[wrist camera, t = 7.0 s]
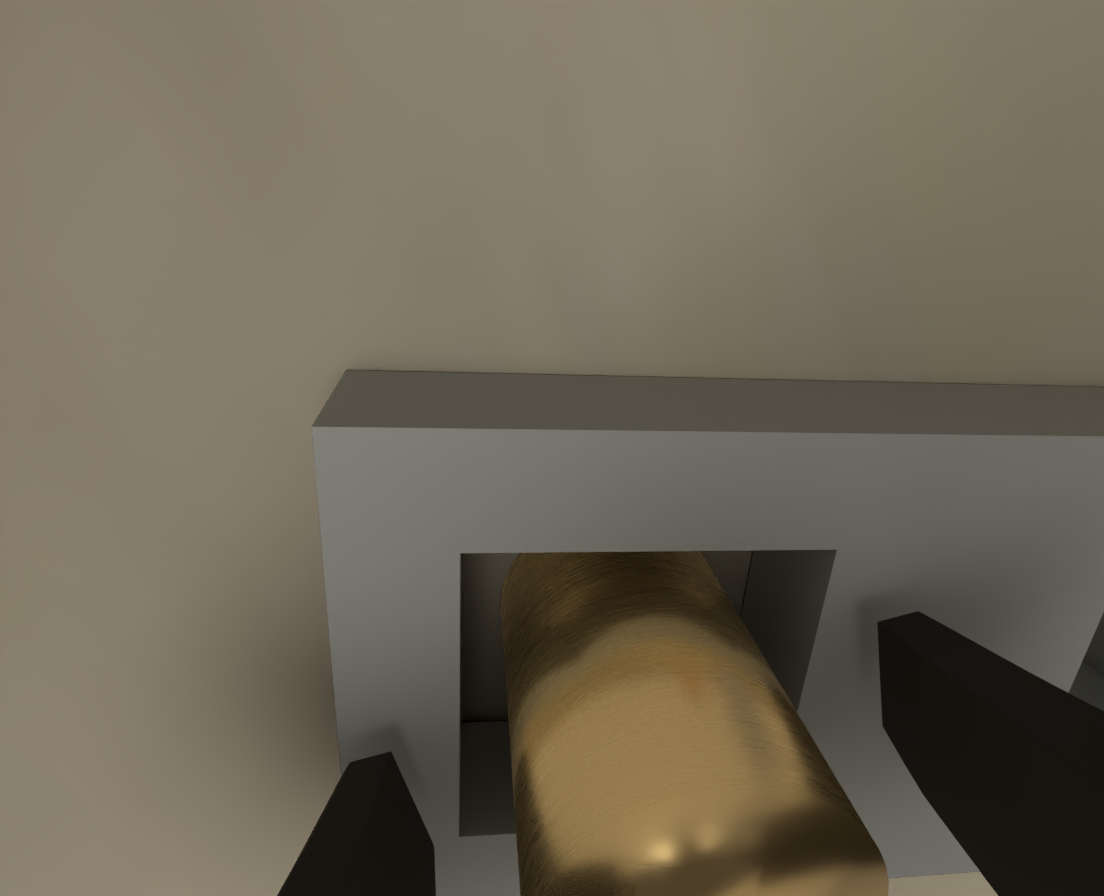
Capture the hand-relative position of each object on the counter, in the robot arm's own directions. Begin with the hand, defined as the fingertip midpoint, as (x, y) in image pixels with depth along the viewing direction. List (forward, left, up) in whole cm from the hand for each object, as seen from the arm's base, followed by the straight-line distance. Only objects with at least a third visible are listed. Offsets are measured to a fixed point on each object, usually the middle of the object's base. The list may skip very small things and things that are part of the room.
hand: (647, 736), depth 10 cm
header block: (-4, 0, -3) cm, 6 cm away
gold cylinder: (0, 0, -3) cm, 3 cm away
